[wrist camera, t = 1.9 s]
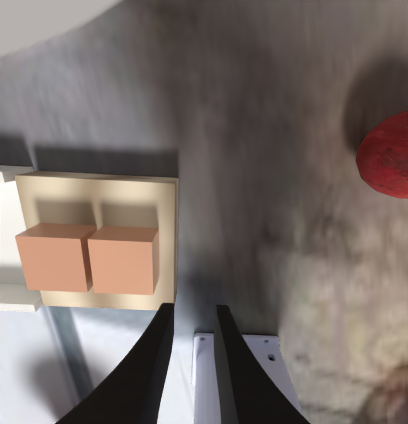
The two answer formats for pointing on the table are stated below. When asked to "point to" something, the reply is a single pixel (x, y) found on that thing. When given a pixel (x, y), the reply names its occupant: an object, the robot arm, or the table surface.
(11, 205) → the tray
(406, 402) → the table surface
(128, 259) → the tile
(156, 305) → the board
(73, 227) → the tile
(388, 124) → the onion
